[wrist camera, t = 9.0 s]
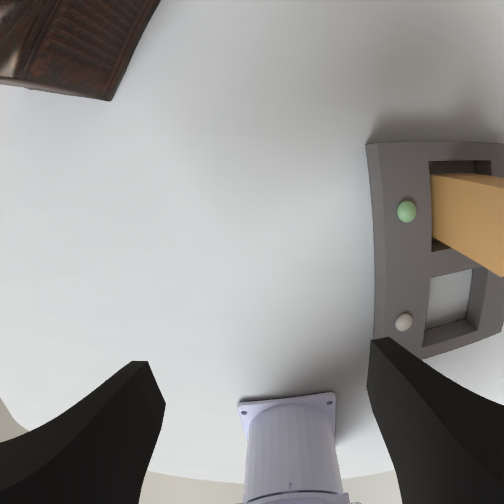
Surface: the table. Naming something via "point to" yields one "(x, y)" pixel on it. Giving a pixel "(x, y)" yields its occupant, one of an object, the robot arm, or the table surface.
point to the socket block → (425, 248)
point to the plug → (470, 216)
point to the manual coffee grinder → (70, 44)
